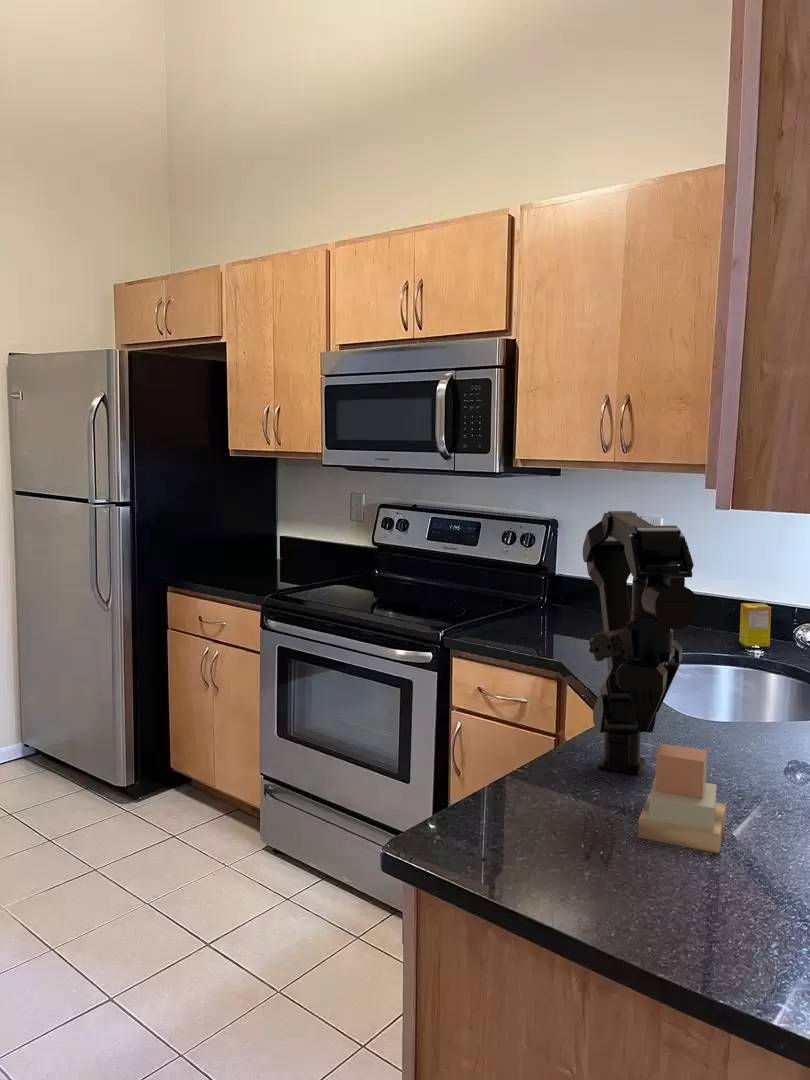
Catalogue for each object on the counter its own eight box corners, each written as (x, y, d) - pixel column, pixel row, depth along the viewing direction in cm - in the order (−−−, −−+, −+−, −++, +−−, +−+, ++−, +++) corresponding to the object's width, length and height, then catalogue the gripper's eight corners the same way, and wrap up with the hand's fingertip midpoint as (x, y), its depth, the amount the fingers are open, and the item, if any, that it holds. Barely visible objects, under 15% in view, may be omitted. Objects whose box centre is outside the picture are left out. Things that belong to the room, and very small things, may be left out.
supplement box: (762, 644, 214) (764, 602, 213) (769, 649, 208) (772, 607, 207) (738, 643, 215) (740, 602, 214) (745, 649, 209) (747, 606, 208)
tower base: (650, 810, 117) (650, 790, 117) (725, 824, 113) (726, 803, 112) (637, 840, 108) (638, 819, 108) (718, 857, 104) (719, 834, 103)
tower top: (654, 796, 115) (655, 775, 114) (715, 805, 112) (716, 784, 111) (648, 820, 107) (649, 798, 107) (713, 830, 104) (714, 808, 104)
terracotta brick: (660, 778, 113) (661, 743, 113) (706, 785, 111) (707, 750, 110) (654, 790, 109) (656, 754, 109) (702, 798, 107) (703, 761, 106)
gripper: (609, 598, 128) (607, 696, 129) (579, 620, 111) (576, 732, 113) (684, 604, 123) (680, 705, 124) (664, 628, 106) (660, 745, 108)
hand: (648, 720), depth 118 cm, fingers open, 9 cm apart
